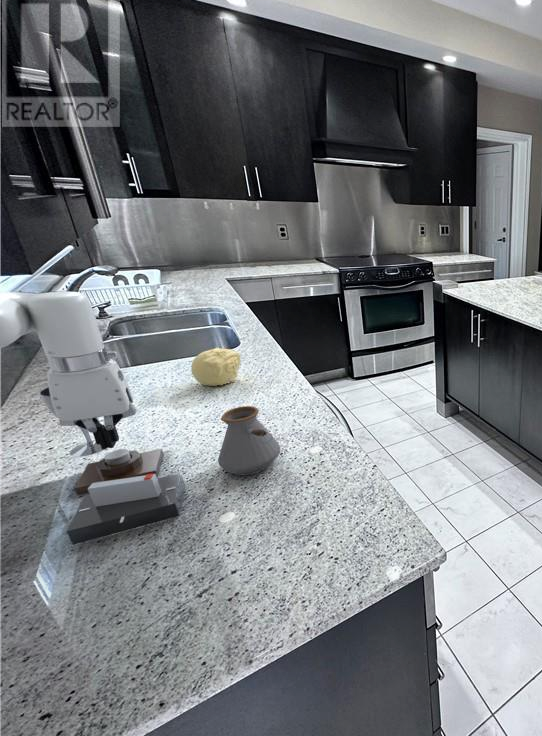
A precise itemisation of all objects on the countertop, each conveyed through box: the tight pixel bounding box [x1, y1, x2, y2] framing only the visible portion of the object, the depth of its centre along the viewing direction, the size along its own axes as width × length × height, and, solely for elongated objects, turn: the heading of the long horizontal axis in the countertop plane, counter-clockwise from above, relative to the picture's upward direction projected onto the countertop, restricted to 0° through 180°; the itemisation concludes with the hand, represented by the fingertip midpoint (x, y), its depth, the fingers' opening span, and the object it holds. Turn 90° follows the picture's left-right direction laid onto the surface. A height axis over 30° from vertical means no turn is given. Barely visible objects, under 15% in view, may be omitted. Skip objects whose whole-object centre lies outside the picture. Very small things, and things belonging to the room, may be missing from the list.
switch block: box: [74, 448, 165, 496], centre depth 83 cm, size 12×9×4 cm
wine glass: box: [39, 386, 108, 457], centre depth 89 cm, size 8×8×15 cm
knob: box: [88, 474, 162, 507], centre depth 72 cm, size 9×2×4 cm, turn 111°
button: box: [104, 448, 131, 466], centre depth 82 cm, size 4×4×2 cm
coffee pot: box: [217, 405, 281, 476], centre depth 83 cm, size 21×12×15 cm, turn 47°
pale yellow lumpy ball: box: [190, 347, 242, 387], centre depth 124 cm, size 11×12×11 cm
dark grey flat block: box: [66, 472, 186, 546], centre depth 74 cm, size 14×13×3 cm
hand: (109, 445), depth 81 cm, fingers closed
